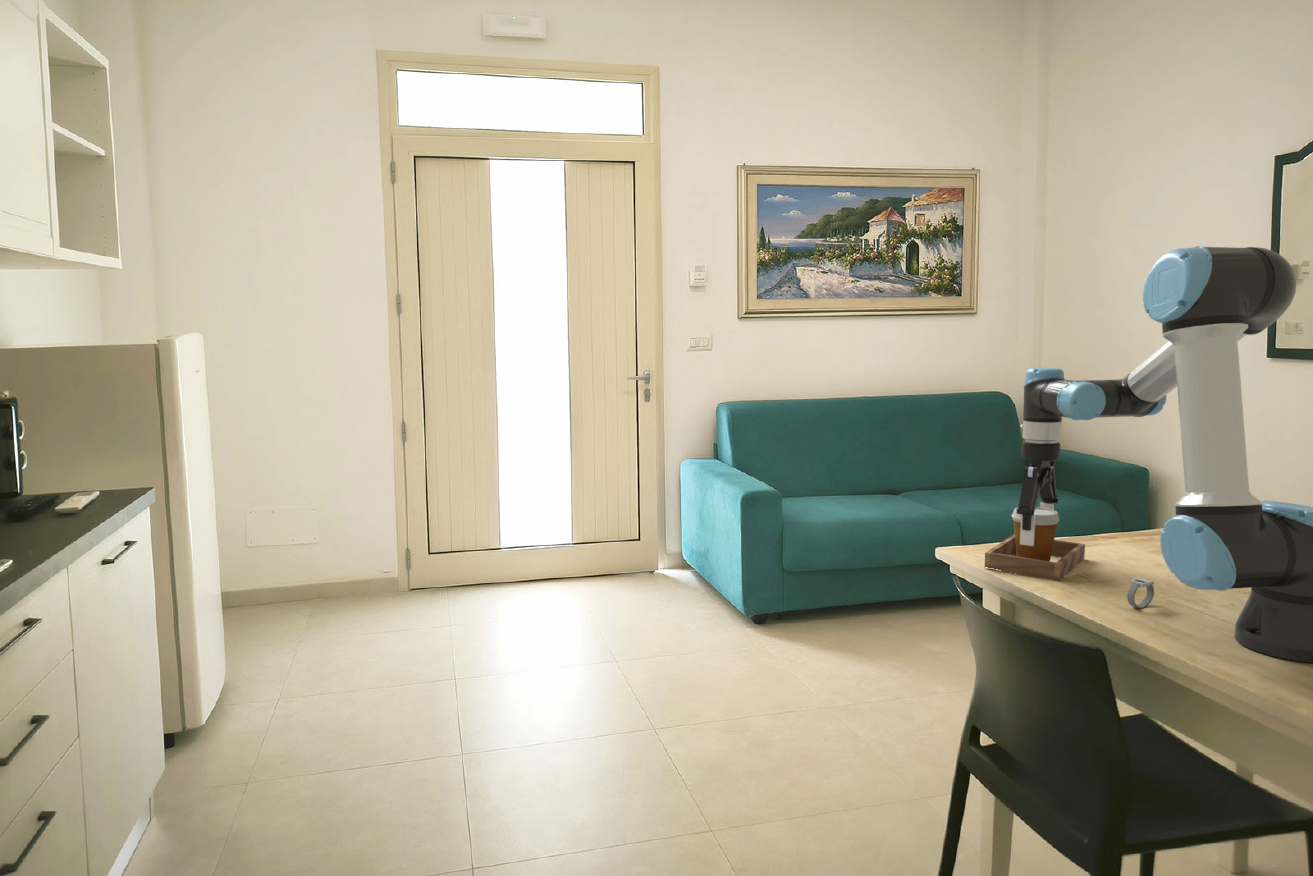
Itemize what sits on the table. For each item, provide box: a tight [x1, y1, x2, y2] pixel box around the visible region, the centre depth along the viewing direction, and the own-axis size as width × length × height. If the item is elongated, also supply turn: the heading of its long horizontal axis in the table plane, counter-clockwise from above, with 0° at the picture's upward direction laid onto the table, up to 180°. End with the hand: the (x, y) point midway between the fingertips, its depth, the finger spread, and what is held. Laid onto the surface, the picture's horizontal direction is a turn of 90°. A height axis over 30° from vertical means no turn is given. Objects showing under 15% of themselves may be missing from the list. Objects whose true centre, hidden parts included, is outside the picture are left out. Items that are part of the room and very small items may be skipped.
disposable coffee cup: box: [1011, 506, 1061, 562], centre depth 189 cm, size 10×10×12 cm
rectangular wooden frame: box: [984, 533, 1086, 582], centre depth 191 cm, size 20×15×4 cm
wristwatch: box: [1126, 577, 1155, 609], centre depth 162 cm, size 6×3×5 cm, turn 119°
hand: (1036, 538), depth 190 cm, fingers open, 13 cm apart
